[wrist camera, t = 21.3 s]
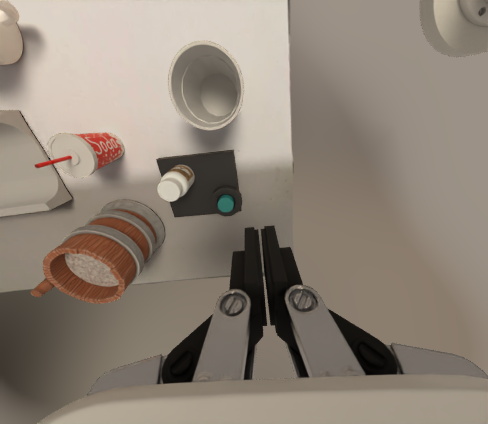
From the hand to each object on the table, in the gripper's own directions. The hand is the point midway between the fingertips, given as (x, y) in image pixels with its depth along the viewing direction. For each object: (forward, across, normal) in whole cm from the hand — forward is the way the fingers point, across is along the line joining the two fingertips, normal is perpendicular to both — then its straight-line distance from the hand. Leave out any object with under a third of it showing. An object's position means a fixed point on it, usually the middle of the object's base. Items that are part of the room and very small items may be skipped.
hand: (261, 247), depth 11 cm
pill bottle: (+26, +13, +2) cm, 29 cm away
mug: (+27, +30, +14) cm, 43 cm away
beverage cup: (+27, +25, -4) cm, 37 cm away
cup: (+27, +4, -10) cm, 29 cm away
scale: (+27, +10, +5) cm, 29 cm away
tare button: (+24, +5, +8) cm, 26 cm away
